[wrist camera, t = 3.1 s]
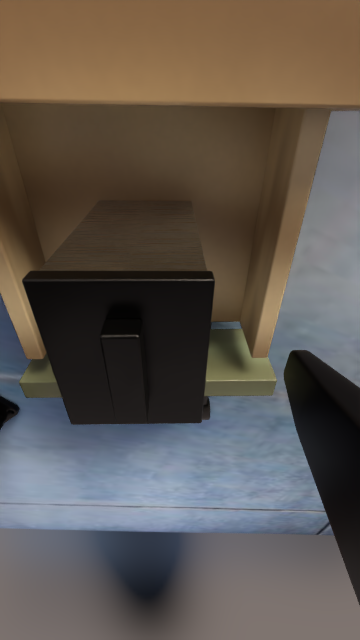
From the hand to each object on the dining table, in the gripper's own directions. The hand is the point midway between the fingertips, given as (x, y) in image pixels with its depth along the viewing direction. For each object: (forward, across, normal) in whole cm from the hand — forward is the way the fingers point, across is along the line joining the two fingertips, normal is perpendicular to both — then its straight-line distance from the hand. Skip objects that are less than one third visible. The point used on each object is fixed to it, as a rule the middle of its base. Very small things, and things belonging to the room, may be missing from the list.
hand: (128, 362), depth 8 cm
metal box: (+7, 0, 0) cm, 7 cm away
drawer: (+8, 0, +1) cm, 8 cm away
